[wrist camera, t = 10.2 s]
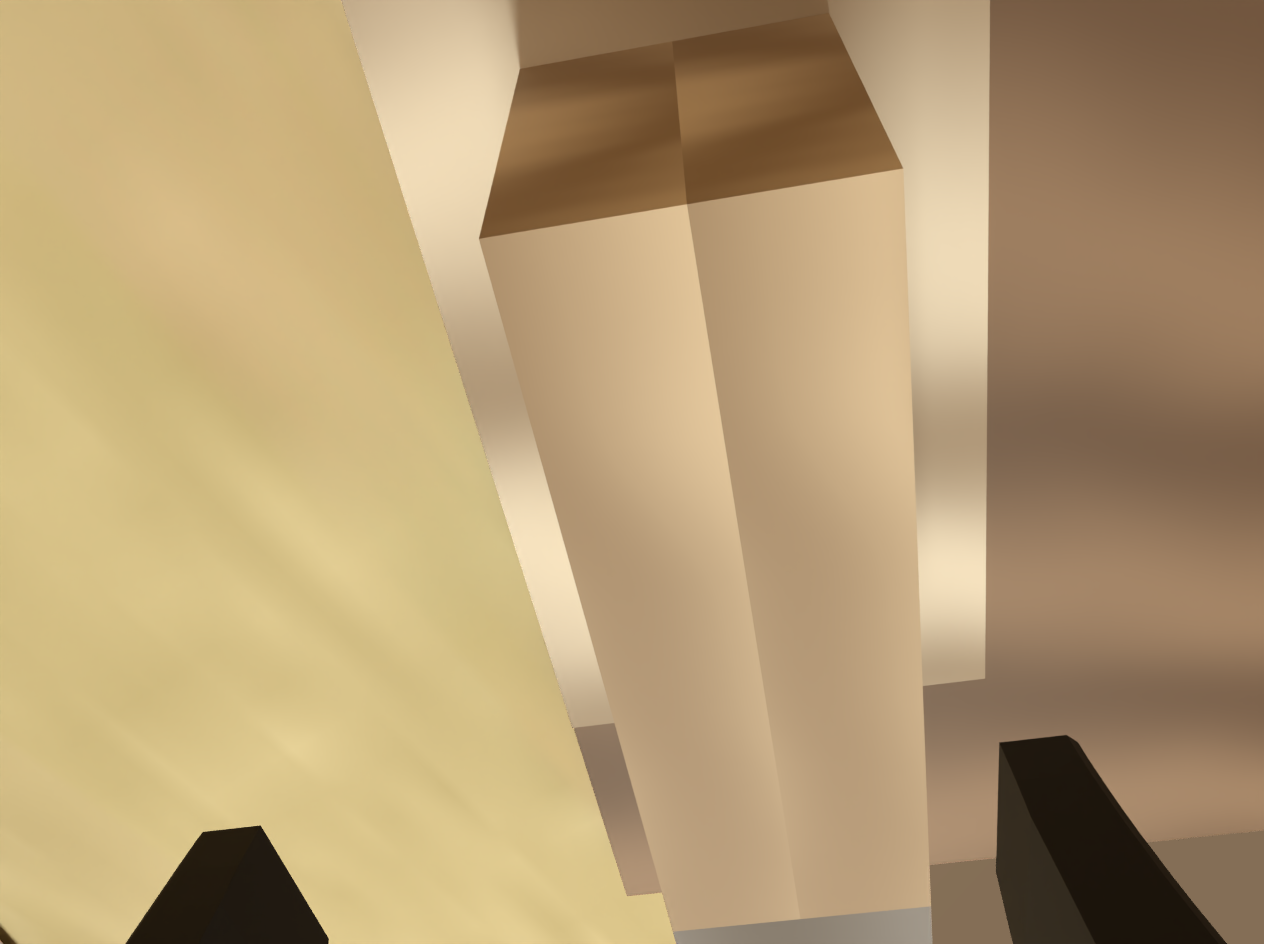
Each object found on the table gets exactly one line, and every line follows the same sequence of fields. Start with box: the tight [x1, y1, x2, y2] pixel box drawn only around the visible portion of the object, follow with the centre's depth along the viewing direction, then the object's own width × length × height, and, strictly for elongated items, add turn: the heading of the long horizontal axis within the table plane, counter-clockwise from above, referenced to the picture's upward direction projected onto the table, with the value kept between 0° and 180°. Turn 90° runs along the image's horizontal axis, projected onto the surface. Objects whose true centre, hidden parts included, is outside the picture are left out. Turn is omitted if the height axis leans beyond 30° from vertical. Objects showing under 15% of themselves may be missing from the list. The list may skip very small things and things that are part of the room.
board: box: [341, 0, 1264, 896], centre depth 19 cm, size 22×16×1 cm
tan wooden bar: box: [479, 13, 932, 944], centre depth 17 cm, size 4×14×5 cm, turn 10°
